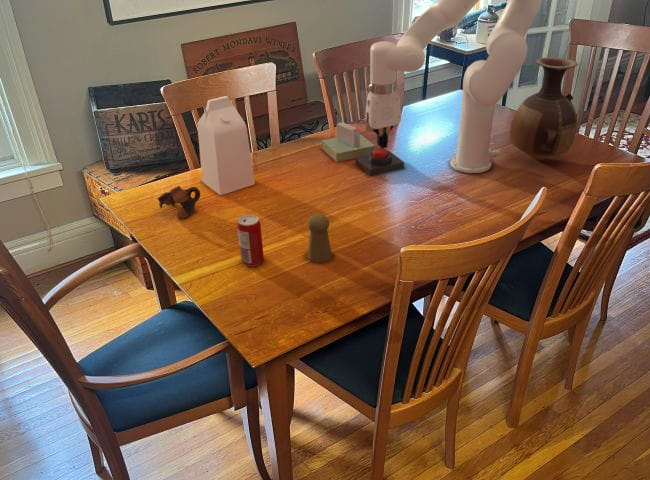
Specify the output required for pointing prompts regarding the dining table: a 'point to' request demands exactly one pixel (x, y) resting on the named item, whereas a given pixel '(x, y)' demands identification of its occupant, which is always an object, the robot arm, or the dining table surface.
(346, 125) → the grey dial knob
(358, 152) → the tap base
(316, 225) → the brown pawn
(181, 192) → the brown animal figurine
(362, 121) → the dining table surface
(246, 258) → the soda can
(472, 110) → the robot arm
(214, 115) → the milk
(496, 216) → the dining table surface
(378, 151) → the tap button
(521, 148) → the vase
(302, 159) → the dining table surface
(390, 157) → the button block
